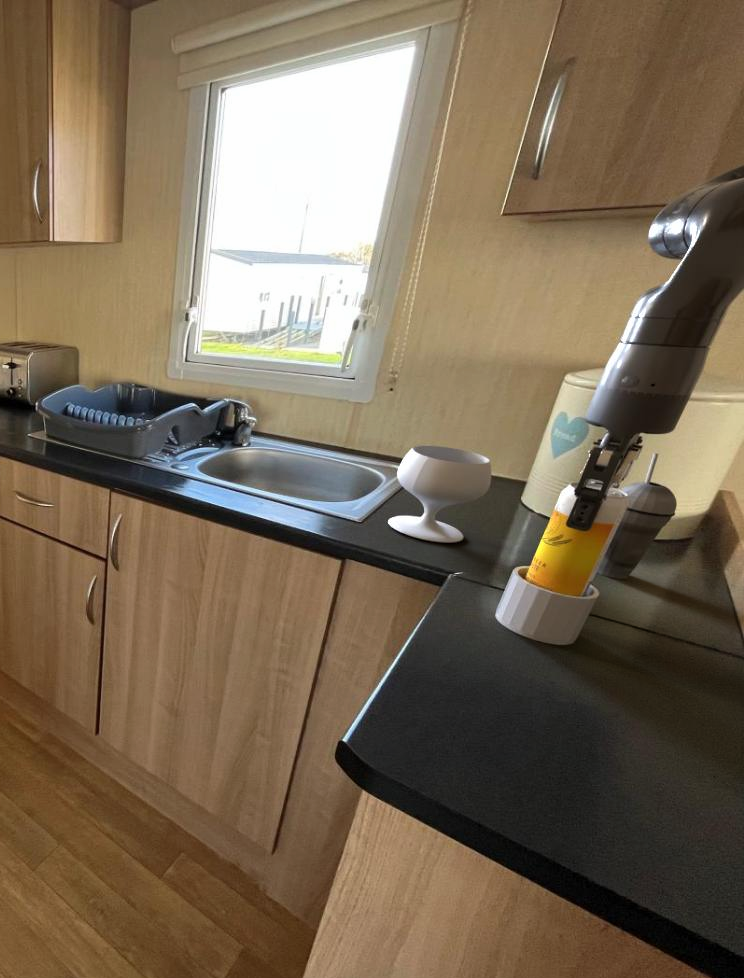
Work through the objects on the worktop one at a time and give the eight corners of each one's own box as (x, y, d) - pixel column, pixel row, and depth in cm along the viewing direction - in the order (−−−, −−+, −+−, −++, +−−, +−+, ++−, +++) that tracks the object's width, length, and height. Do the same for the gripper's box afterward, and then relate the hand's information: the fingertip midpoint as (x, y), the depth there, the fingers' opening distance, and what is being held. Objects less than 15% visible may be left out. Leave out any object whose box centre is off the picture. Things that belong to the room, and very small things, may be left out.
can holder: (582, 630, 74) (605, 585, 71) (567, 653, 69) (591, 605, 66) (505, 602, 80) (523, 560, 77) (486, 622, 75) (505, 577, 73)
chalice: (431, 550, 96) (460, 468, 90) (365, 520, 108) (386, 446, 102) (487, 541, 100) (518, 463, 94) (417, 513, 112) (440, 442, 106)
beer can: (524, 579, 77) (567, 477, 71) (582, 596, 73) (633, 489, 67) (518, 594, 73) (562, 488, 67) (579, 613, 69) (632, 501, 63)
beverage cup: (637, 588, 86) (703, 465, 78) (576, 570, 91) (631, 453, 83) (641, 574, 90) (703, 456, 82) (582, 558, 95) (635, 446, 87)
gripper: (684, 397, 55) (612, 547, 62) (700, 385, 63) (634, 519, 70) (585, 386, 60) (529, 526, 67) (611, 376, 69) (558, 501, 75)
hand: (583, 522), depth 69 cm, fingers closed on beer can, 6 cm apart
